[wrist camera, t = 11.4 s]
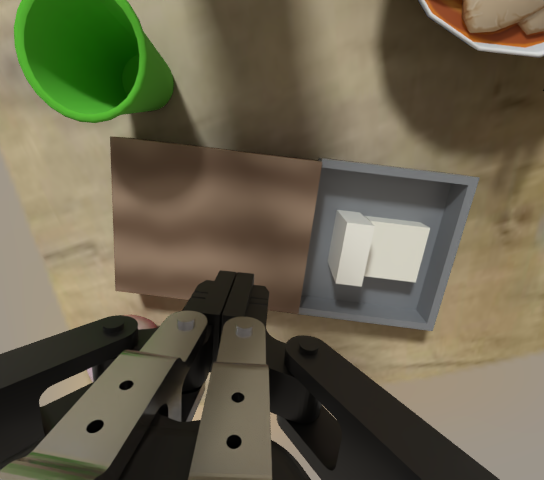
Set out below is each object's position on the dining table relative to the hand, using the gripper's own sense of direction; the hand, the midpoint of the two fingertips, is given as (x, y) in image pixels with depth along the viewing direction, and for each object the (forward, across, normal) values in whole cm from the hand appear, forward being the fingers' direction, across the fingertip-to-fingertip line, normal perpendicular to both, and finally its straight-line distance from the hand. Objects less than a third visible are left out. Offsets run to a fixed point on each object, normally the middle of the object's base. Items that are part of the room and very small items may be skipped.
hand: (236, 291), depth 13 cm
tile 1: (+18, -8, +3) cm, 20 cm away
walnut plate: (+22, +5, +3) cm, 22 cm away
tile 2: (+18, -14, +3) cm, 23 cm away
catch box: (+22, -12, +3) cm, 25 cm away
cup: (+22, +13, -11) cm, 28 cm away
